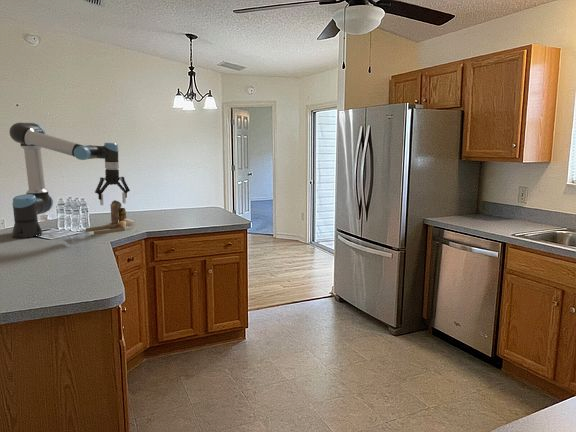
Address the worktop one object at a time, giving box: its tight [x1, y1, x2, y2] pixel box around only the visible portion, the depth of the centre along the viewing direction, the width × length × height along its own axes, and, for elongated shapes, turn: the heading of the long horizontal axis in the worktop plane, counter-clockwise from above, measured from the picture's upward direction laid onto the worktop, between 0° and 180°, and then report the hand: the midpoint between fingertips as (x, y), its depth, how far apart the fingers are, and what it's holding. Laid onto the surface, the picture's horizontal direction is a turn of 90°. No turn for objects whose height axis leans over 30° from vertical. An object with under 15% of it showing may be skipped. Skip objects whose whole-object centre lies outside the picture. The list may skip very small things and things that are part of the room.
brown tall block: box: [108, 203, 121, 229], centre depth 268 cm, size 4×7×16 cm, turn 44°
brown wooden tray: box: [85, 218, 138, 237], centre depth 268 cm, size 25×17×6 cm
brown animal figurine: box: [111, 200, 128, 222], centre depth 287 cm, size 9×14×18 cm, turn 2°
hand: (113, 204), depth 267 cm, fingers open, 13 cm apart
